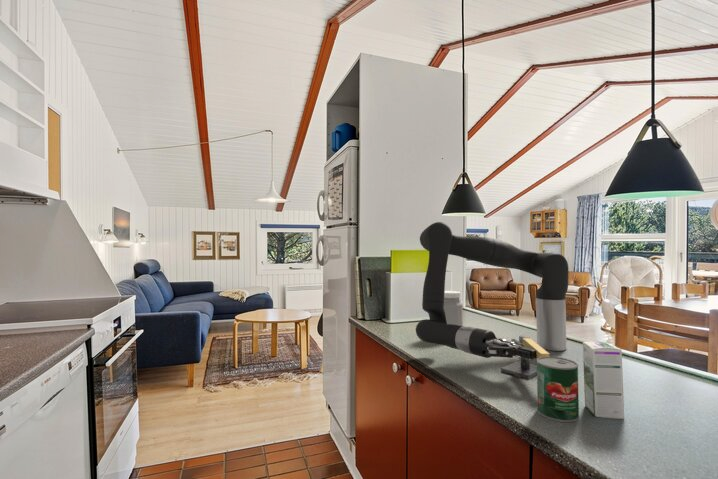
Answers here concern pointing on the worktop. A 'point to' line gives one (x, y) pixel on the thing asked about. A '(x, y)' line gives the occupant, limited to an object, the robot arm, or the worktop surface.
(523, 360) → the post
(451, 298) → the jar
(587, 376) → the syrup box
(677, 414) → the worktop surface
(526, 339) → the bar
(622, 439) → the worktop surface
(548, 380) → the canned tomato
